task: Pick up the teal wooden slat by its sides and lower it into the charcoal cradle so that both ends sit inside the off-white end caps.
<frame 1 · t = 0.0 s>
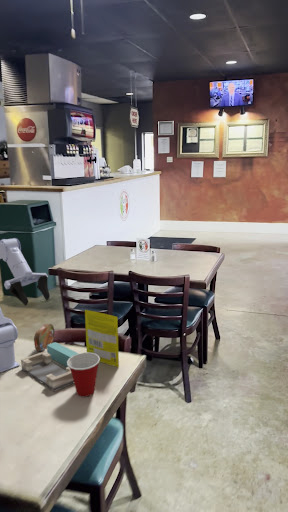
hand: (37, 300, 139), 32 cm above the table, tool tilted 50°, fingers open, 7 cm apart
cradle: (49, 374, 158), on the table
slat: (63, 361, 169), on the table
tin: (44, 346, 183), on the table
plastic cup: (84, 393, 146), on the table
food package: (102, 363, 167), on the table
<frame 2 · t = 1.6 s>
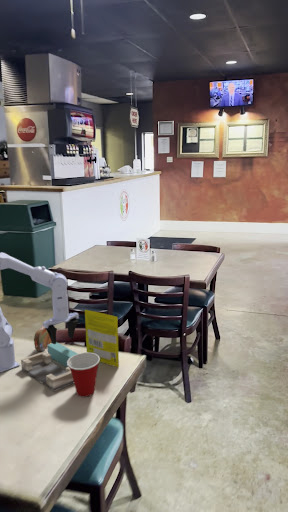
hand: (62, 340, 167), 8 cm above the table, tool pointing down, fingers open, 7 cm apart
nothing on the table moved.
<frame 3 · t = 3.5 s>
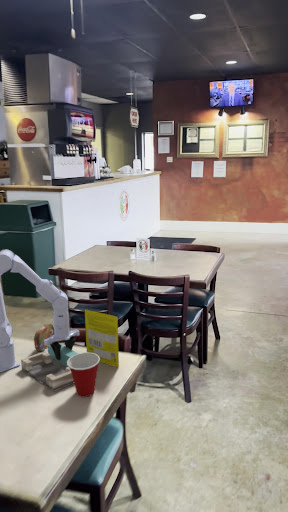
hand: (63, 357, 169), 1 cm above the table, tool pointing down, fingers closed on slat, 4 cm apart
slat: (63, 361, 169), on the table, touching gripper
everything else where it was.
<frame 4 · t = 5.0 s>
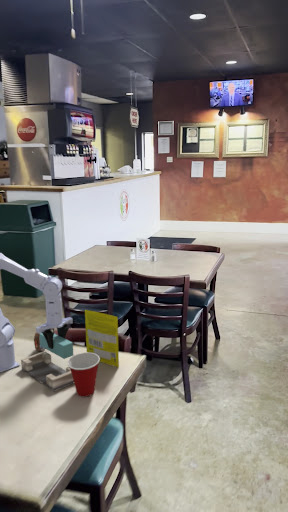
hand: (56, 346, 163), 8 cm above the table, tool pointing down, fingers closed on slat, 4 cm apart
slat: (56, 350, 163), point 7 cm above the table, touching gripper
everything else where it was.
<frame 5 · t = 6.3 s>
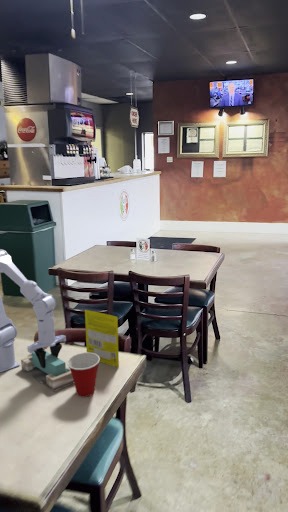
hand: (48, 364, 157), 4 cm above the table, tool pointing down, fingers closed on slat, 4 cm apart
slat: (48, 369, 158), point 2 cm above the table, touching gripper
everything else where it was.
when the fingers open (4 cm above the table, at t = 7.0 s): slat drops 1 cm, resting on cradle.
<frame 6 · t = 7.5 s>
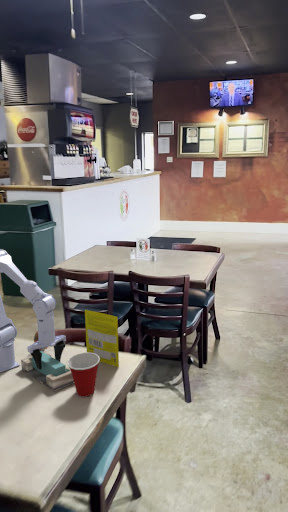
hand: (48, 365, 157), 4 cm above the table, tool pointing down, fingers open, 7 cm apart
slat: (49, 372, 158), point 1 cm above the table, touching cradle
everything else where it was.
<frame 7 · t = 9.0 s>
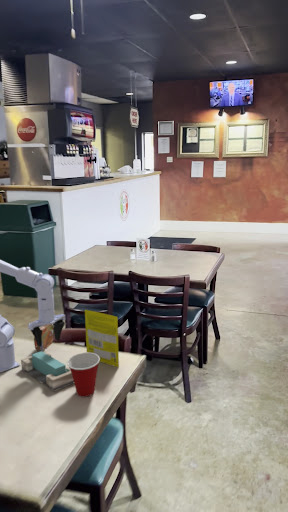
hand: (48, 342, 163), 9 cm above the table, tool pointing down, fingers open, 7 cm apart
nothing on the table moved.
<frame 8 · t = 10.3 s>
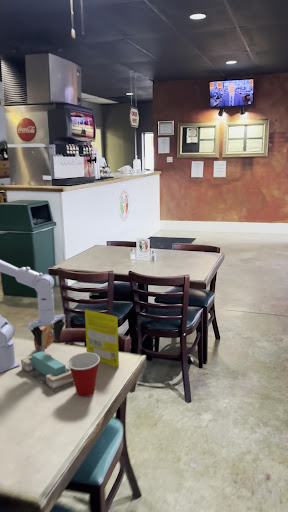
hand: (48, 342, 163), 9 cm above the table, tool pointing down, fingers open, 7 cm apart
nothing on the table moved.
at the end: slat 0.0 cm off-centre on the cradle, point 1.0 cm above the cradle's base; slat tilted 0°; the gripper is holding nothing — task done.
